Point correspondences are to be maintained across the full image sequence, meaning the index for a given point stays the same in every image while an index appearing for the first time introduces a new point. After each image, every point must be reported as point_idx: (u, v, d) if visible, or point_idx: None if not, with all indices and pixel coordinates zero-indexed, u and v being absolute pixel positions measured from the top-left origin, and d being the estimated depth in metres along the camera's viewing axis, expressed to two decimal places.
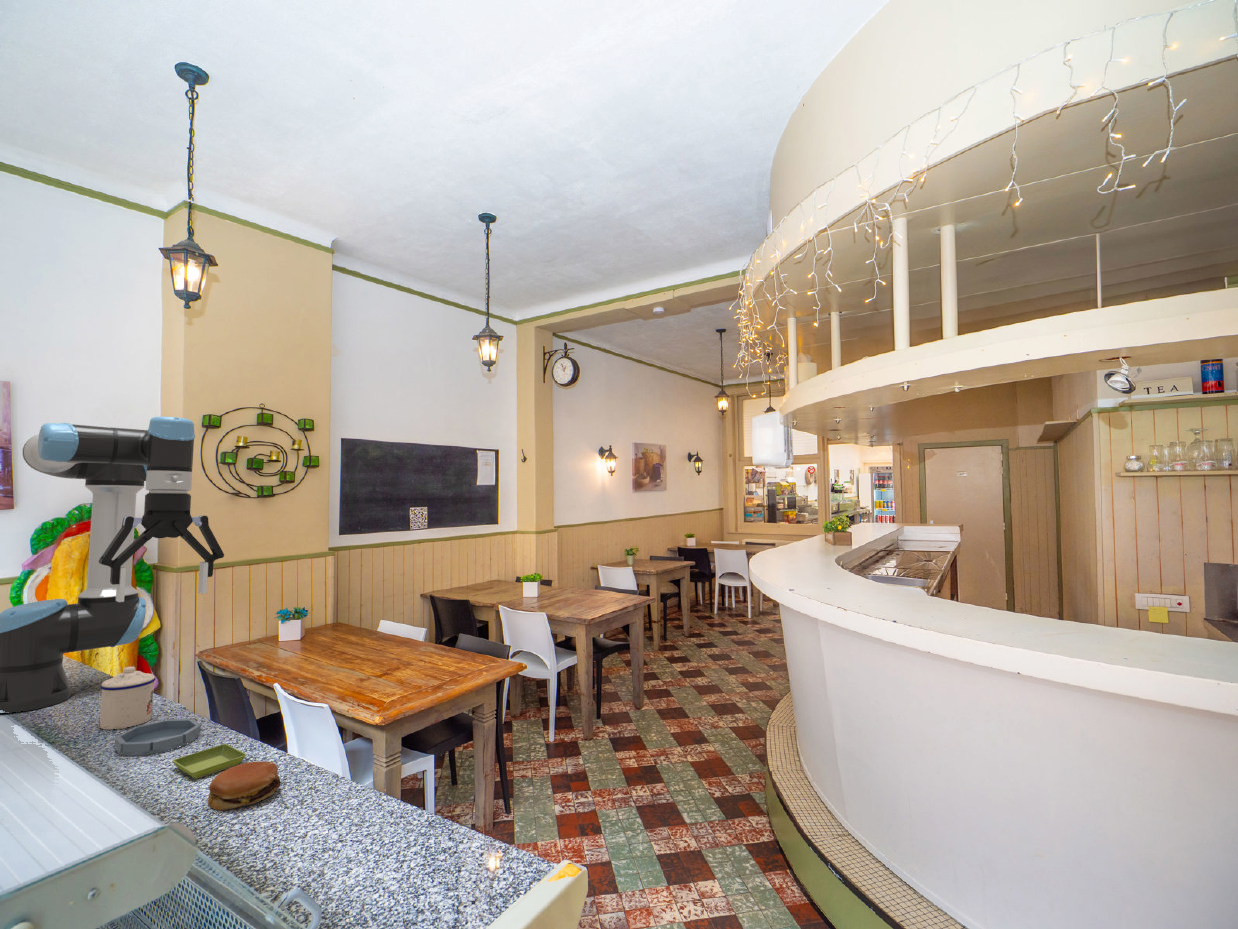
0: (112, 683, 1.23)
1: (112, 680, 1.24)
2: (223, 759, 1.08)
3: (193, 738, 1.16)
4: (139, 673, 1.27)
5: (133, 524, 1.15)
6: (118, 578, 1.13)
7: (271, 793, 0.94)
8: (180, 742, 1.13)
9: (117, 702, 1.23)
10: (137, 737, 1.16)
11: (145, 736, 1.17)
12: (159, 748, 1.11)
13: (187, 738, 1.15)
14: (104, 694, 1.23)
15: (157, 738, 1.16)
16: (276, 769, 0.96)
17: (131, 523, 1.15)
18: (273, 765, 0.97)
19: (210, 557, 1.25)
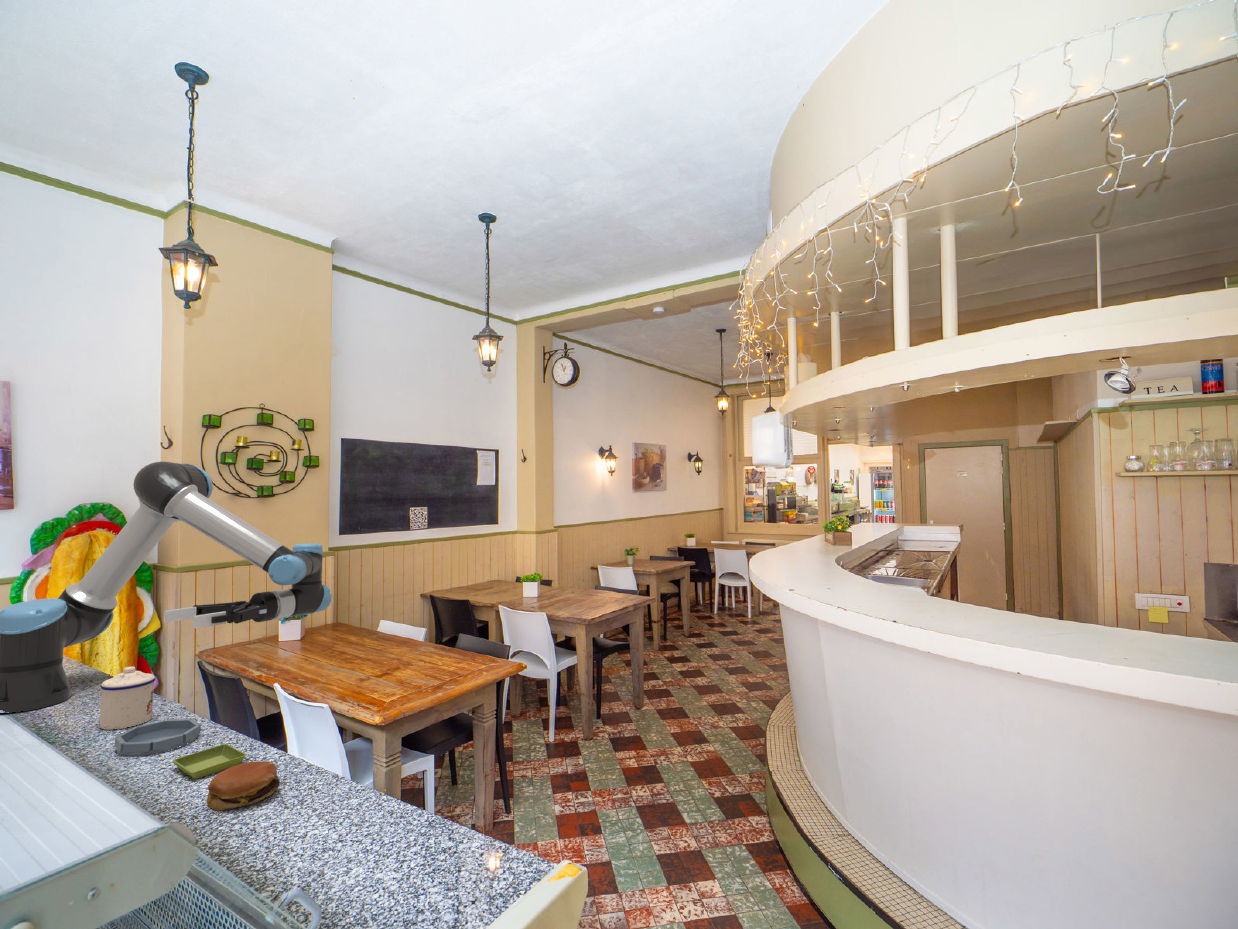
0: (112, 683, 1.23)
1: (112, 680, 1.24)
2: (223, 759, 1.08)
3: (193, 738, 1.16)
4: (139, 673, 1.27)
5: None
6: None
7: (270, 793, 0.94)
8: (180, 742, 1.13)
9: (117, 702, 1.23)
10: (137, 737, 1.16)
11: (145, 736, 1.17)
12: (159, 748, 1.11)
13: (187, 738, 1.15)
14: (104, 694, 1.23)
15: (157, 738, 1.16)
16: (275, 769, 0.96)
17: None
18: (272, 765, 0.97)
19: None
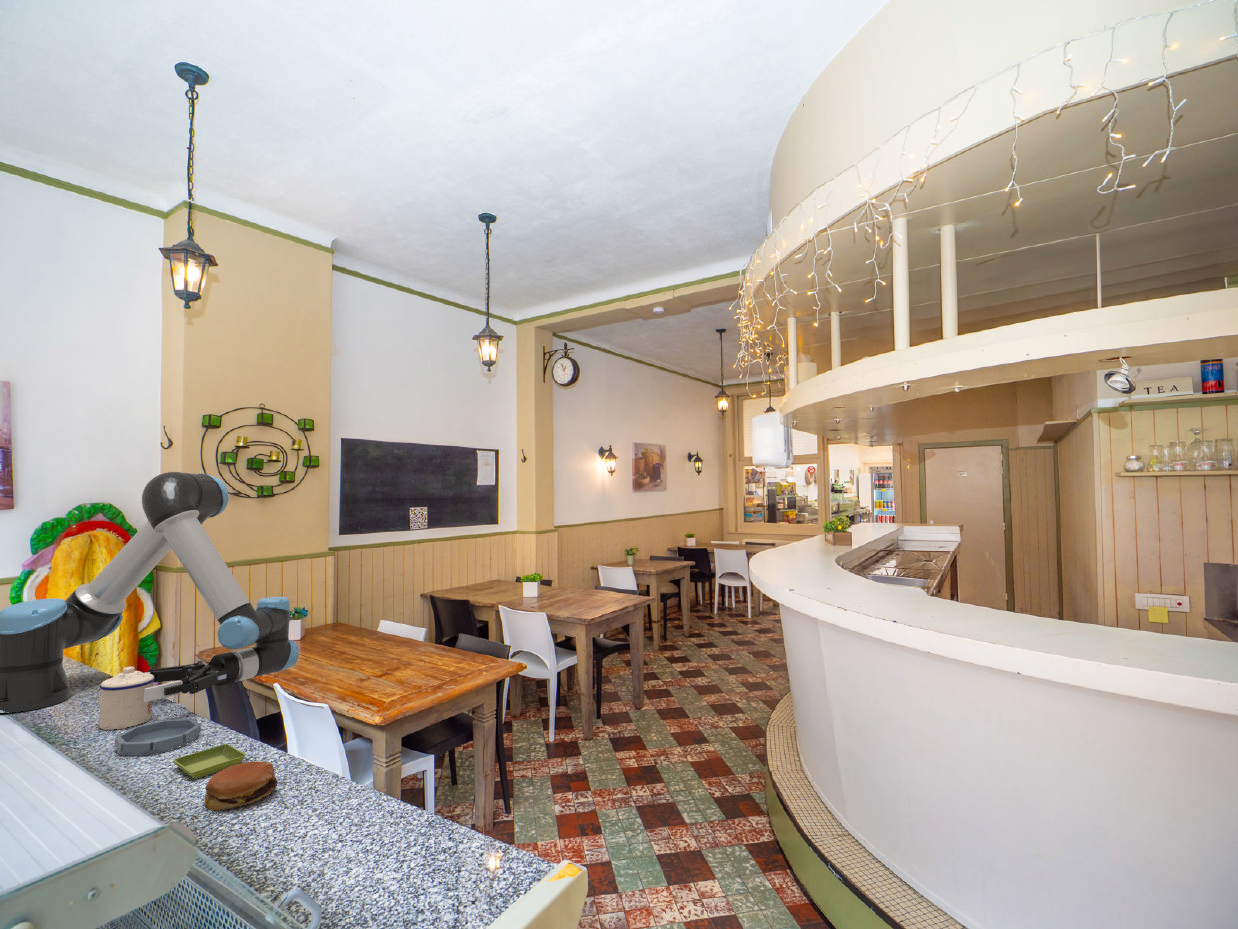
0: (113, 683, 1.23)
1: (112, 680, 1.24)
2: (223, 759, 1.08)
3: (193, 738, 1.16)
4: (139, 673, 1.27)
5: None
6: None
7: (267, 793, 0.94)
8: (180, 742, 1.13)
9: (120, 702, 1.23)
10: (137, 737, 1.16)
11: (145, 736, 1.17)
12: (159, 748, 1.11)
13: (187, 738, 1.15)
14: (105, 694, 1.22)
15: (157, 738, 1.16)
16: (273, 769, 0.96)
17: None
18: (270, 765, 0.96)
19: None
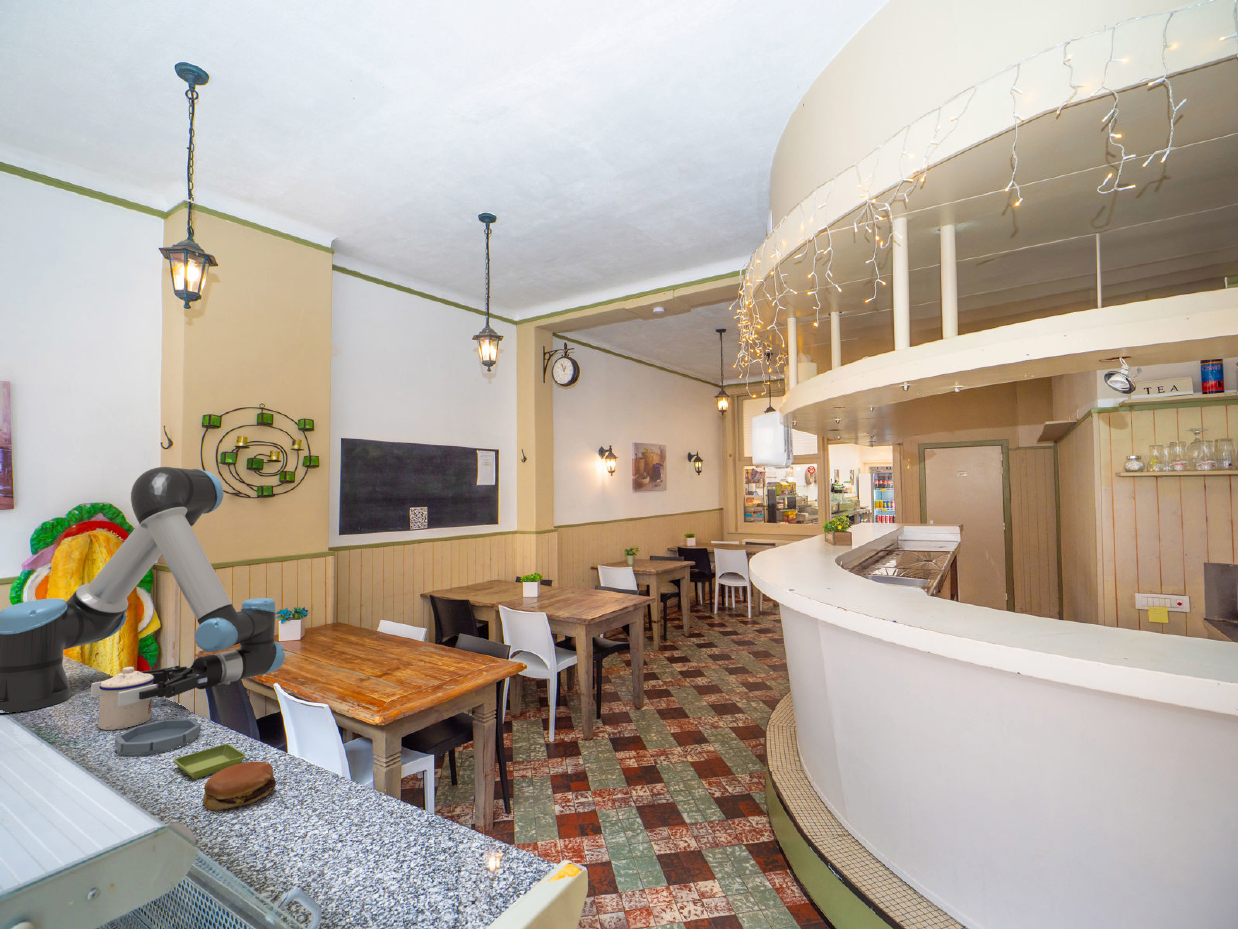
0: (114, 683, 1.23)
1: (113, 680, 1.24)
2: (224, 759, 1.08)
3: (193, 738, 1.16)
4: (139, 673, 1.27)
5: None
6: (145, 697, 1.25)
7: (266, 793, 0.94)
8: (180, 742, 1.13)
9: None
10: (137, 737, 1.16)
11: (145, 736, 1.17)
12: (159, 748, 1.11)
13: (187, 738, 1.15)
14: (105, 695, 1.22)
15: (157, 738, 1.16)
16: (271, 769, 0.96)
17: None
18: (268, 765, 0.96)
19: None
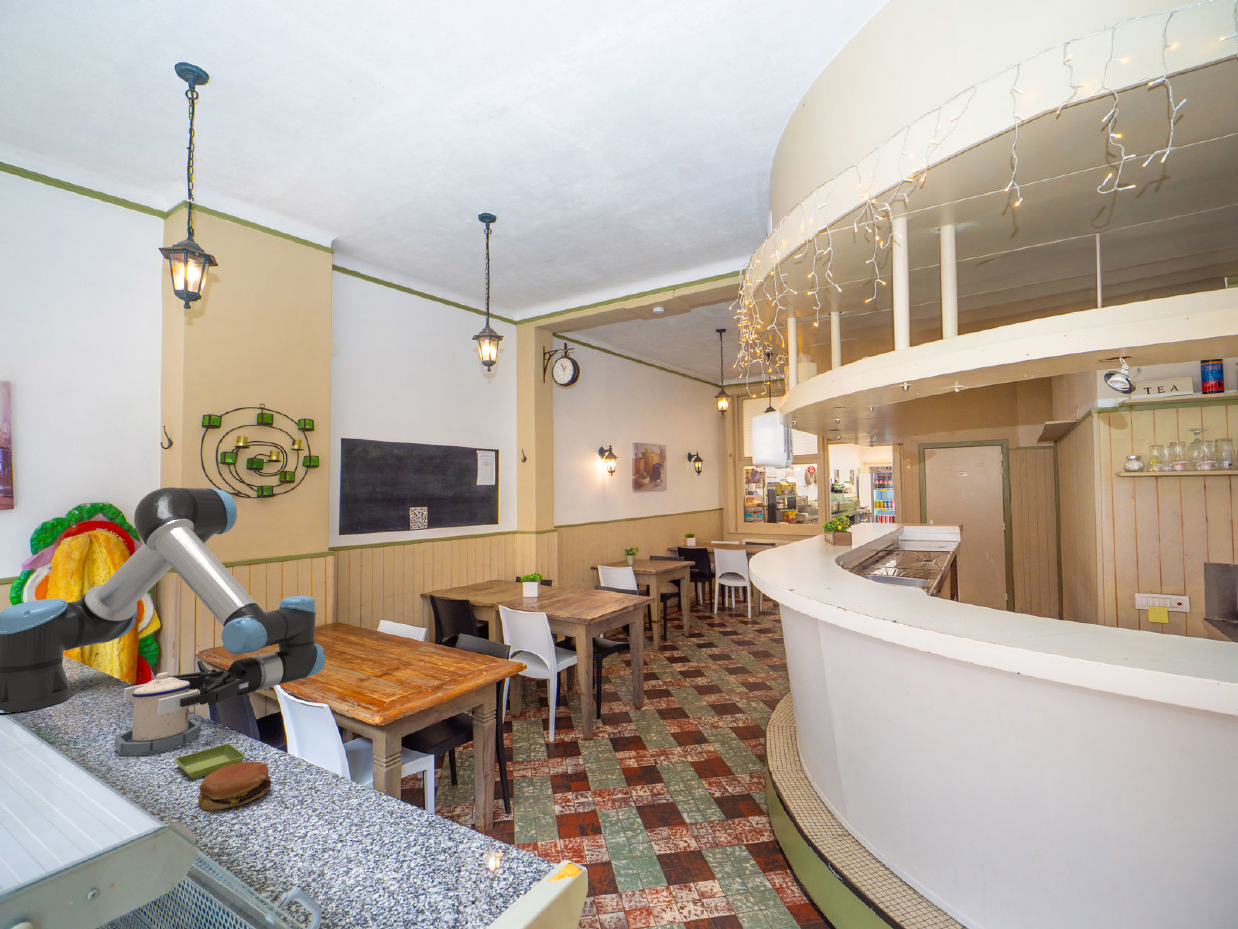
0: (148, 689, 1.12)
1: (146, 687, 1.13)
2: (224, 759, 1.08)
3: (193, 738, 1.16)
4: (174, 678, 1.17)
5: None
6: None
7: (261, 794, 0.94)
8: (180, 742, 1.13)
9: (156, 710, 1.12)
10: None
11: None
12: (159, 748, 1.11)
13: (187, 738, 1.15)
14: (139, 702, 1.11)
15: None
16: (267, 770, 0.96)
17: None
18: (264, 766, 0.96)
19: None
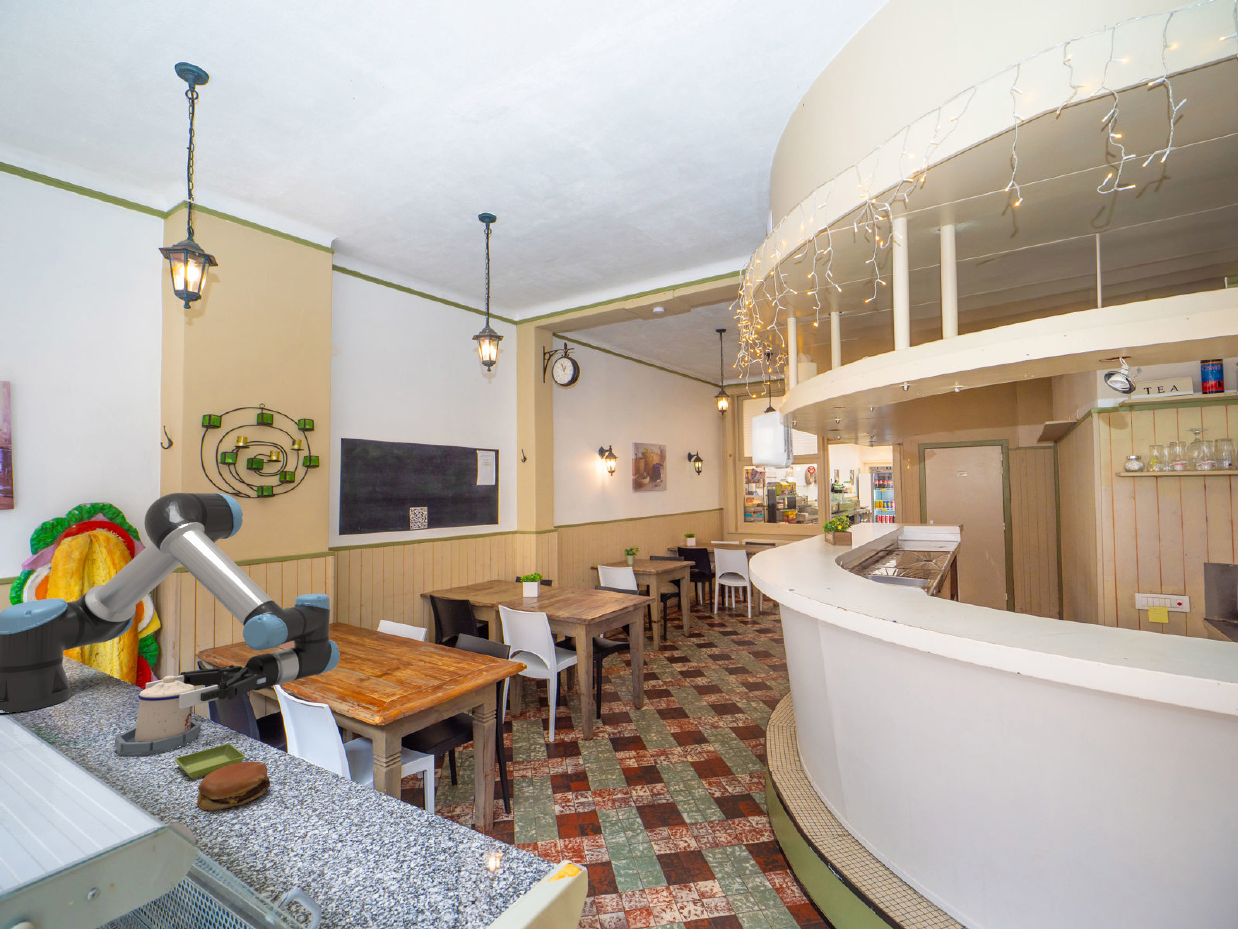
0: (150, 693, 1.13)
1: (151, 689, 1.14)
2: (224, 759, 1.08)
3: (193, 738, 1.16)
4: (179, 683, 1.17)
5: None
6: None
7: (260, 794, 0.94)
8: (180, 742, 1.13)
9: (155, 715, 1.12)
10: None
11: None
12: (159, 748, 1.11)
13: (187, 738, 1.15)
14: (141, 705, 1.12)
15: None
16: (266, 770, 0.96)
17: None
18: (263, 766, 0.96)
19: None
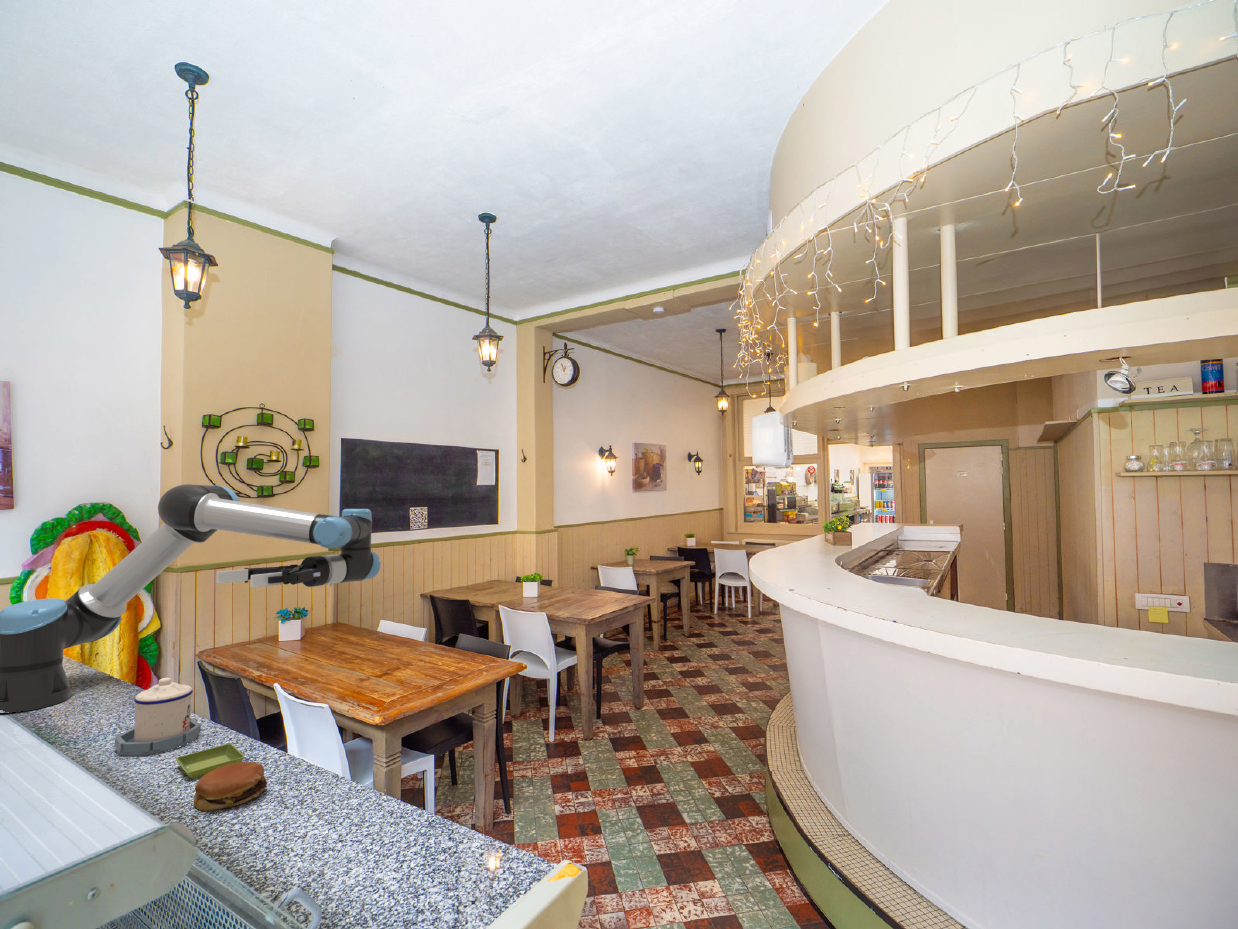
0: (145, 696, 1.12)
1: (146, 693, 1.13)
2: (225, 759, 1.08)
3: (193, 738, 1.16)
4: (175, 685, 1.16)
5: None
6: (273, 582, 1.32)
7: (257, 794, 0.94)
8: (180, 742, 1.13)
9: (151, 718, 1.11)
10: None
11: None
12: (159, 748, 1.11)
13: (187, 738, 1.15)
14: (137, 708, 1.12)
15: None
16: (262, 770, 0.96)
17: None
18: (259, 766, 0.96)
19: None
